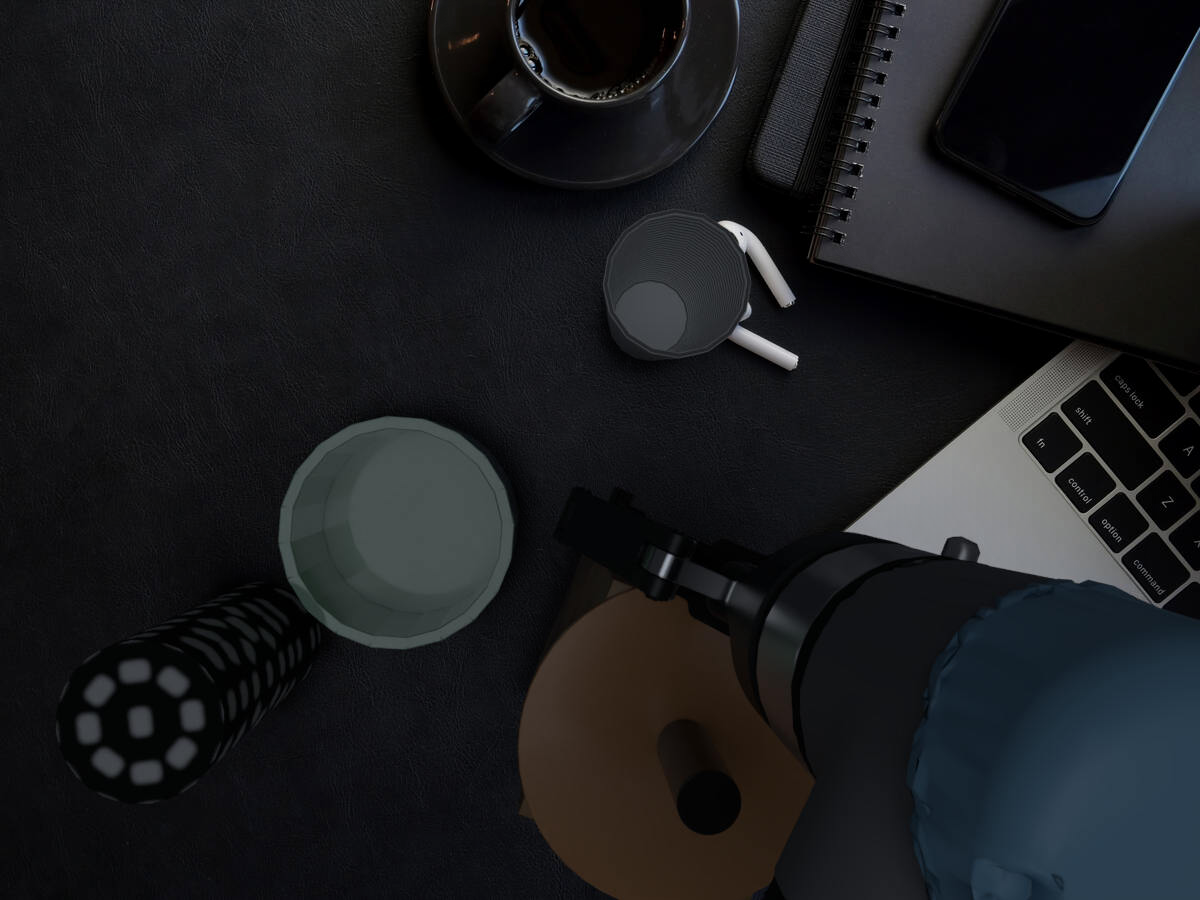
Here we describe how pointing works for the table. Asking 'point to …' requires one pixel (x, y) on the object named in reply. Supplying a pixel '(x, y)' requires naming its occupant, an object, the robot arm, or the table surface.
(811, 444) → the table surface
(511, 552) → the pot
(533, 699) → the lid
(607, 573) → the stand
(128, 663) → the spotted tube
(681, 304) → the cup
